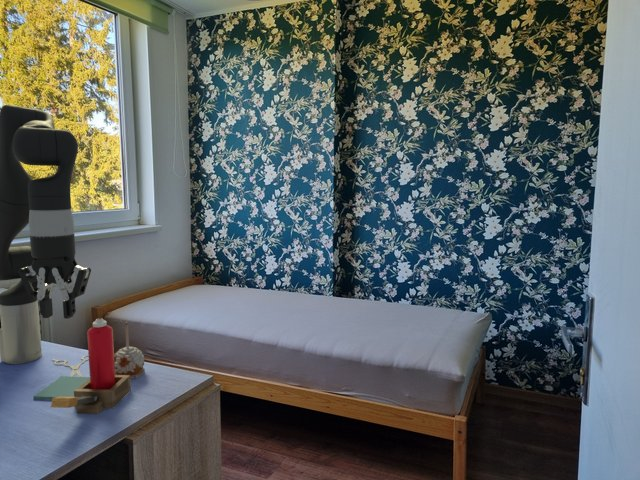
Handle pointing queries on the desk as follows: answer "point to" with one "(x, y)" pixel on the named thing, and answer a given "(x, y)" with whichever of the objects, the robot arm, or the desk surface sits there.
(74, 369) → the scissors
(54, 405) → the lever
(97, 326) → the bottle
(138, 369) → the caramel apple
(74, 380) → the coaster
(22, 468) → the desk surface
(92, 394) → the holder
